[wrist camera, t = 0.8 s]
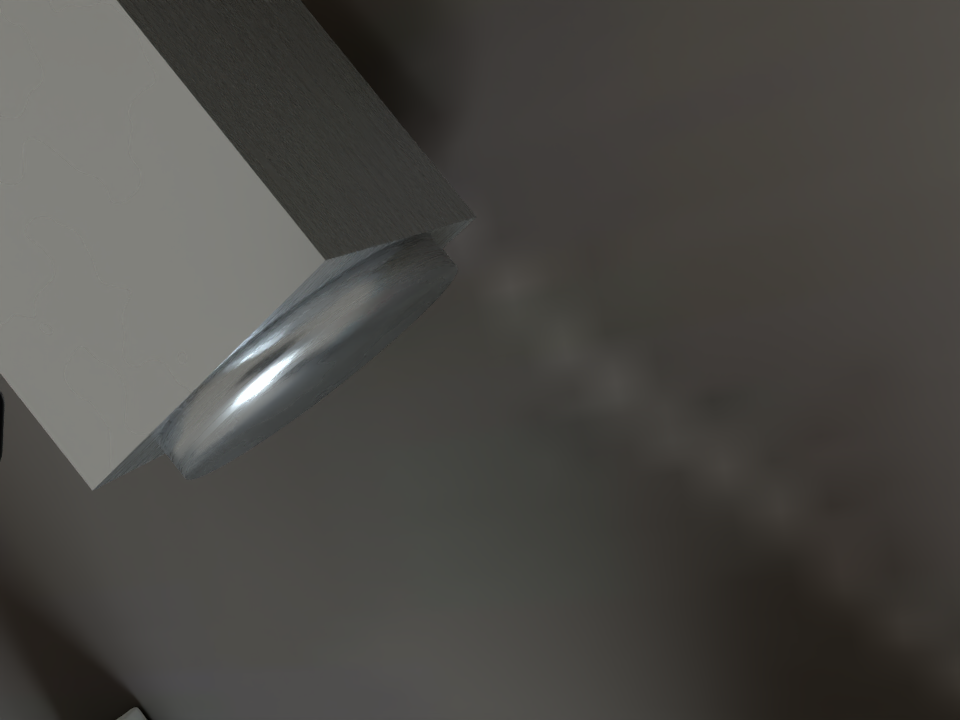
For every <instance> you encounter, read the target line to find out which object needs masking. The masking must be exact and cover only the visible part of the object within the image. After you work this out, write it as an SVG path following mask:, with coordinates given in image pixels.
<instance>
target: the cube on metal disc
mask: <svg viewBox="0 0 960 720" xmlns="http://www.w3.org/2000/svg"><path fill="white" fill-rule="evenodd" d="M475 218H476V216H475V215H474V214H473V213H472V211H471V210H470V209H469V208H468V206H467V205H466V204H465V203H464V201H463V200H462V199H461V198H460V196H459V195H458V194H457V193H456V192H455V190H454V189H453V188H452V187H451V185H450V184H449V183H448V182H447V180H446V179H445V178H444V177H443V175H442V174H441V173H440V172H439V171H438V169H437V168H436V167H435V166H434V164H433V163H432V162H431V161H430V159H429V158H428V157H427V156H426V154H425V153H424V152H423V151H422V150H421V148H420V147H419V146H418V145H417V143H416V142H415V141H414V140H413V138H412V137H411V136H410V135H409V134H408V132H407V131H406V130H405V129H404V127H403V126H402V125H401V124H400V122H399V121H398V120H397V119H396V117H395V116H394V115H393V114H392V113H391V111H390V110H389V109H388V108H387V106H386V105H385V104H384V103H383V101H382V100H381V99H380V98H379V96H378V95H377V94H376V93H375V92H374V90H373V89H372V88H371V87H370V85H369V84H368V83H367V82H366V80H365V79H364V78H363V77H362V75H361V74H360V73H359V72H358V71H357V69H356V68H355V67H354V66H353V64H352V63H351V62H350V61H349V59H348V58H347V57H346V56H345V54H344V53H343V52H342V51H341V50H340V48H339V47H338V46H337V45H336V43H335V42H334V41H333V40H332V38H331V37H330V36H329V35H328V33H327V32H326V31H325V30H324V29H323V27H322V26H321V25H320V24H319V22H318V21H317V20H316V19H315V17H314V16H313V15H312V14H311V12H310V11H309V10H308V9H307V8H306V6H305V5H304V4H303V3H302V1H301V0H0V373H1V375H2V376H3V377H4V378H5V380H6V381H7V382H8V383H9V385H10V386H11V387H12V389H13V390H14V391H15V392H16V394H17V395H18V396H19V397H20V399H21V400H22V401H23V403H24V404H25V405H26V406H27V408H28V409H29V410H30V411H31V413H32V414H33V415H34V417H35V418H36V419H37V420H38V422H39V423H40V424H41V425H42V427H43V428H44V429H45V431H46V432H47V433H48V434H49V436H50V437H51V438H52V439H53V441H54V442H55V443H56V445H57V446H58V447H59V448H60V450H61V451H62V452H63V453H64V455H65V456H66V457H67V459H68V460H69V461H70V462H71V464H72V465H73V466H74V467H75V469H76V470H77V471H78V473H79V474H80V475H81V476H82V478H83V479H84V480H85V481H86V483H87V484H88V485H89V487H90V488H91V489H92V490H95V489H97V488H99V487H101V486H103V485H105V484H106V483H108V482H110V481H112V480H114V479H116V478H118V477H120V476H122V475H124V474H126V473H128V472H130V471H132V470H134V469H136V468H138V467H140V466H142V465H144V464H146V463H148V462H150V461H152V460H154V459H156V458H157V457H159V456H161V455H163V454H165V453H166V455H167V456H168V457H169V458H170V460H171V461H172V462H173V463H174V465H175V466H176V467H177V468H178V470H179V471H180V472H181V474H182V475H183V476H184V477H185V478H186V479H187V480H192V479H196V478H199V477H201V476H204V475H206V474H208V473H210V472H212V471H214V470H216V469H218V468H220V467H222V466H223V465H225V464H227V463H229V462H230V461H232V460H234V459H235V458H237V457H239V456H240V455H242V454H244V453H245V452H247V451H248V450H250V449H252V448H253V447H255V446H256V445H258V444H259V443H261V442H262V441H264V440H265V439H267V438H268V437H270V436H271V435H273V434H274V433H275V432H277V431H278V430H280V429H281V428H283V427H284V426H286V425H287V424H288V423H290V422H291V421H293V420H294V419H295V418H297V417H298V416H299V415H301V414H302V413H304V412H305V411H306V410H308V409H309V408H310V407H312V406H313V405H314V404H316V403H317V402H318V401H320V400H321V399H322V398H324V397H325V396H326V395H328V394H329V393H330V392H331V391H333V390H334V389H335V388H337V387H338V386H339V385H340V384H342V383H343V382H344V381H345V380H347V379H348V378H349V377H350V376H352V375H353V374H354V373H355V372H357V371H358V370H359V369H360V368H362V367H363V366H364V365H365V364H366V363H368V362H369V361H370V360H371V359H373V358H374V357H375V356H376V355H377V354H378V353H380V352H381V351H382V350H383V349H384V348H385V347H387V346H388V345H389V344H390V343H391V342H392V341H393V340H395V339H396V338H397V337H398V336H399V335H400V334H401V333H402V332H404V331H405V330H406V329H407V328H408V327H409V326H410V325H411V324H412V323H413V322H414V321H415V320H417V319H418V318H419V317H420V316H421V315H422V314H423V313H424V312H425V311H426V310H427V309H428V308H429V307H430V306H431V305H432V304H433V303H434V302H435V301H436V300H437V299H438V298H439V296H440V295H441V294H442V293H443V292H444V291H445V290H446V288H447V287H448V286H449V285H450V283H451V282H452V281H453V279H454V277H455V276H456V274H457V271H458V268H457V266H456V265H455V264H454V263H453V261H452V260H451V259H450V258H449V256H448V255H447V254H446V253H445V251H444V250H443V249H442V248H444V247H445V246H446V245H447V244H448V243H449V242H450V241H451V240H452V239H453V238H454V237H456V236H457V235H458V234H459V233H460V232H461V231H462V230H463V229H464V228H465V227H466V226H467V225H469V224H470V223H471V222H472V221H473V220H474V219H475Z"/></svg>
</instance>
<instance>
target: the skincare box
mask: <svg viewBox="0 0 960 720" xmlns="http://www.w3.org/2000/svg"><path fill="white" fill-rule="evenodd" d="M117 720H147V719H146V718H145V716H144V715H143V713H142V712H141V711H140V710H139V708H137V707H134V708H132V709H130V710H129V711H128V712H126V713H125V714H124V715H122V716H121V717H119V718H118V719H117Z"/></svg>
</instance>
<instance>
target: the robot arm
mask: <svg viewBox="0 0 960 720" xmlns="http://www.w3.org/2000/svg"><path fill="white" fill-rule="evenodd" d="M4 406H5V402H4V397H3V394H2V392H1V391H0V460H1V457H2V451H3V429H4Z"/></svg>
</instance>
